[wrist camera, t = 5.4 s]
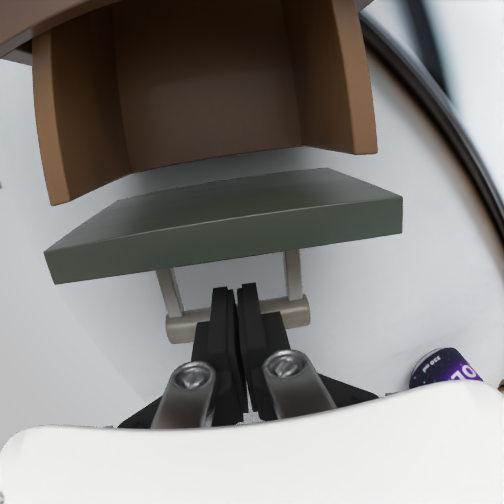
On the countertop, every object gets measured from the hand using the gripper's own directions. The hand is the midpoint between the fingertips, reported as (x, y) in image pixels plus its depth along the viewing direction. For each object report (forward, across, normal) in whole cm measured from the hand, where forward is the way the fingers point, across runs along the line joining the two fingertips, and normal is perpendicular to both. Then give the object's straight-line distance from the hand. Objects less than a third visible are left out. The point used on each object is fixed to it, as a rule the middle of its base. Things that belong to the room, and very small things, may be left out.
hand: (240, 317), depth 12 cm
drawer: (+6, 0, -8) cm, 10 cm away
